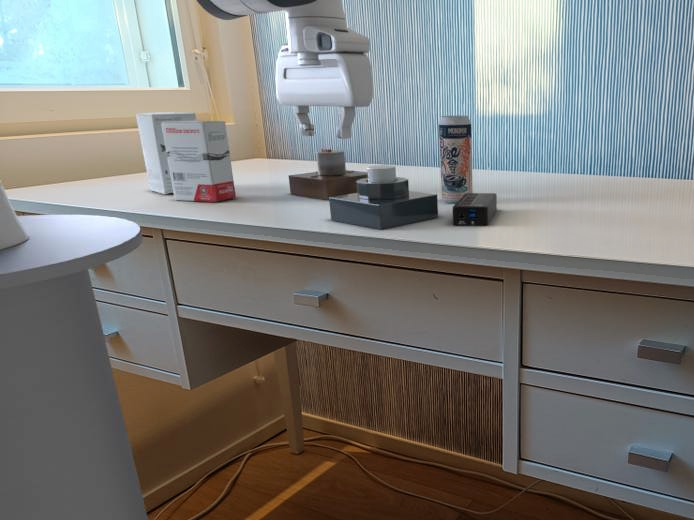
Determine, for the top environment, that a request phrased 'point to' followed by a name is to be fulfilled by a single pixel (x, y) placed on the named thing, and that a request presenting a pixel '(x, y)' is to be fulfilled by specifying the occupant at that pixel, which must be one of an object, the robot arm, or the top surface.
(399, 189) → the push button base
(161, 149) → the white packaging box
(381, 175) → the white short cylinder
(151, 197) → the top surface
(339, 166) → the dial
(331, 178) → the brown rectangular block
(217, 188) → the ink box
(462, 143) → the coffee can
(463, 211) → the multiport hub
